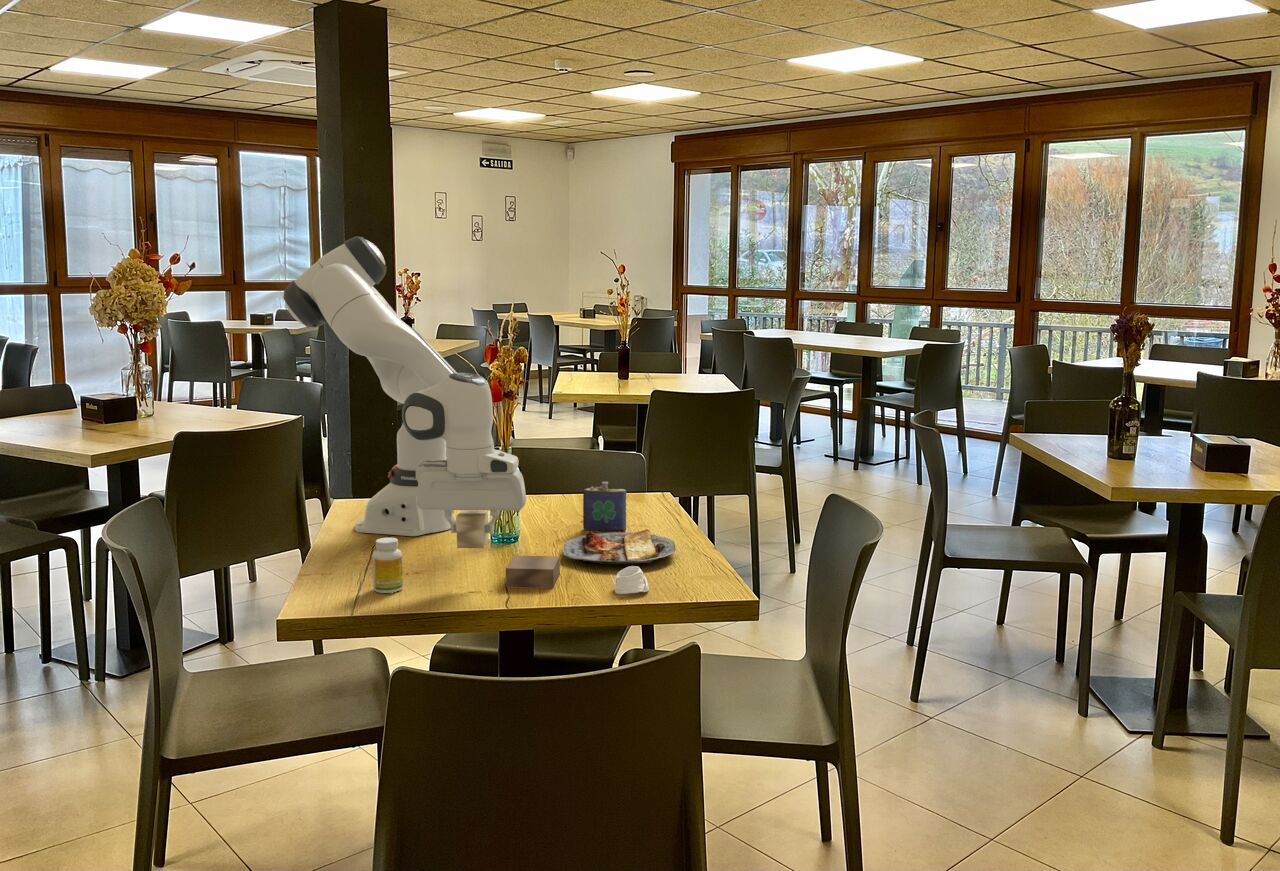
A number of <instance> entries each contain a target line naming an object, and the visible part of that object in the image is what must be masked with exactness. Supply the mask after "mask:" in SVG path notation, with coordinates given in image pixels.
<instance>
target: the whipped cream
mask: <svg viewBox="0 0 1280 871" xmlns="http://www.w3.org/2000/svg"><path fill="white" fill-rule="evenodd" d="M613 584H614V585H613V588H614V592H615V594H618V595H628V594H639V593H646V592H649V591H650V590H649V589H650V587H649V583H648V579H647V577H646V576H645V575H644V572H643V570H642V569H641V568H640V566H638V565H637V566H635V565H631V566H627V567H625V568H622V569H621V570H620V571H618V572H617V573H616V575H615V577H614V579H613Z"/></svg>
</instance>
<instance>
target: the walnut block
mask: <svg viewBox="0 0 1280 871" xmlns="http://www.w3.org/2000/svg"><path fill="white" fill-rule="evenodd" d="M560 560H561V558H560V556H558V555H557V556H556V555H555V556H553V555H552V556H551V555H549V556H547V555H513V556H512V558H511V559H510V562H509V563H508V564H507V565H506V567H505V588H519V589H520V588H523V589H524V588H525V589H554V588H555V586H556V584H557V582H558V579H559V578H560V575H561V574H560V573H561V570H560V569H561V567H560V566H561V564H560V563H561V562H560ZM556 581H557V582H556Z"/></svg>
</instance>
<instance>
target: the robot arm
mask: <svg viewBox="0 0 1280 871" xmlns="http://www.w3.org/2000/svg"><path fill="white" fill-rule="evenodd" d="M343 242H344V243H343V244H341V245H339V246H337V247H336V248H334V249H332V250H330V251H329V252H327V253H325V254H324V255H323V256H321V257H320V258H318V259H317V261H316V262H315V263H314V264H312V265H311V266H310V267H308V268H307V269H305V271H304V272H303V273H302V274H301V275H299V276H298V277H297V279H296V280H292V281H291V282H290V283H289V284H288V285H287V286H286V288H285V289H284V290H283V297H282V298H283V300H284V303H285V306H286V309H287V311H288V312H289V314H290V315H291V317H293V319H295V320H296V322H298V323H300V324H302V325H304V326H305V327H307V328H318V327H321V326H323V325H325V324H328V326H329V327H330V329H331V330H332V331H333V332H334V333H335V335H336V336H337V338H338V339H339V341H340V342H341V343H342V344H343V345H345V346H346V347H347V348H348V349H349V350H351V351H352V352H353V353H355V355H356V354H357V355H360V356H364V357H366V359H367V360H368V362H369V363H370V364H371V366H372V368H373V370H374V372H375V373H376V376H378V379H379V381H380V385H381V388H382V390H383V392H384V393H385V394H386V395H387V396H389V397H390V398H392V399H393V400H394V401H396V402H397V403H400V404H402V405H403V406H402V409H401V419H402V423H401V424H402V425H401V427H400V428H399V429H398V431H397V433H396V452H397V454H396V455H397V457H396V458H397V460H396V461H397V464H395V465H394V466H392V467H391V469H390V470H389V472H388V473H387V474H388V475H387V478H389V481H390V482H389V483H388V484H387V485H386V486H384V487H383V488H382V489H381V490H379V491H378V492H377V493H376V494H375V495H373V496H372V497H371V498H370V499H369V500H368V502H367V504H366V506H365V512H364V517H363V518H361V519H360V520H358V521H356V523H355V525H354V530H355V532H356V533H366V534H367V533H368V534H380V535H394V536H403V537H404V536H405V537H406V536H407V537H417V536H422V535H426V534H430V533H439V532H443V531H447V530H450V533H451V534H457V531H456V518H454V515H453V514H454V513H455V511H461V510H466V511H490V513H489V516H490V517H491V516H492V517H491V520H490V521H488V522H486V524H485V533H488V534H494V533H495V522H496V521H497V518H498V517H499V515H500V511H521V510H522V509H523V508H524V507H525V506H526V504H527V496H526V487H525V486H526V485H525V480H524V476H523V474H522V472H521V471H520V470H519V469H518V467H519V458H518V456H516V455H514V454H510V453H508V452H504V451H501V450H499V449H495V444H494V439H493V436H492V428H493V424H494V408H493V406H494V405H493V396H492V390H491V388H490V384H489V382H488V380H487V379H486V378H485V377H483V376H482V375H479V374H476V373H471V372H457V371H456V370H455V369H454V368H453V367H452V365H450V363H448V361H447V360H446V359H445V358H444V357H443V356H442V355H441V354H440V353H439V352H438V351H437V350H436V349H435V348H434V347H433V345H432V344H430V343H429V342H428V341H427V340H426V338H424V336H422V335H421V334H420V333H419V332H418V331H417V330H415V329H414V328H413V327H411V326H410V325H408V324H407V323H405V322H404V321H403V320H402V319H401V318H400V317H399V315H398V314H397V312H396V311H395V310H394V309H393V307H392V306H391V305H390V304H389V303H388V302H387V300H386V299H385V298H384V296H383V295H382V294H381V293H380V292H379V290H377V289H376V288H375V287H374V286H375V285H379V284H380V282H381V281H382V280H383V279H384V277H385V276H386V274H387V266H386V260H385V258H384V255H383V253H382V252H381V250H380V249H379V248H378V246H377V245H375V243H373V242H371V241H370V240H368V239H365V237H363V236H357V235H356V236H354V237H350V238H349V239H346V240H345V241H343Z"/></svg>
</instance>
